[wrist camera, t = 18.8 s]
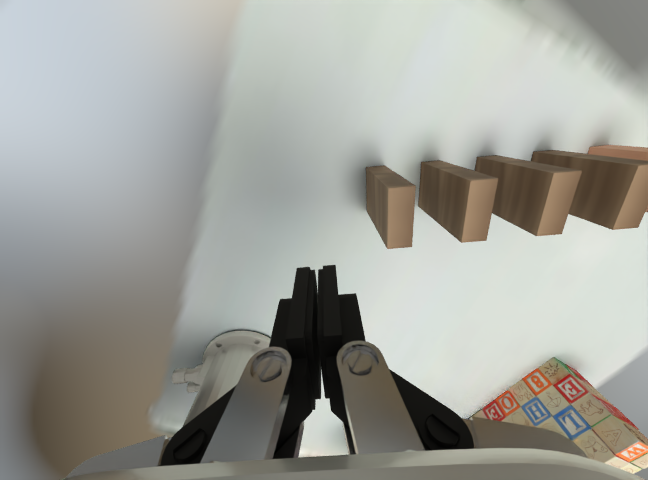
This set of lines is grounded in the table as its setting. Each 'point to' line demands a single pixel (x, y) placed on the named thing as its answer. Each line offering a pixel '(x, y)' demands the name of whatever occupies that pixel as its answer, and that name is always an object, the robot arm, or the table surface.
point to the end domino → (621, 152)
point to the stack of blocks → (572, 415)
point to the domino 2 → (457, 199)
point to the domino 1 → (390, 206)
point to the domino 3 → (531, 192)
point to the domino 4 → (604, 187)
